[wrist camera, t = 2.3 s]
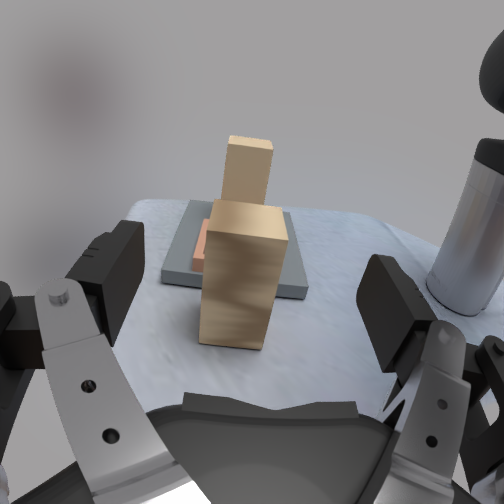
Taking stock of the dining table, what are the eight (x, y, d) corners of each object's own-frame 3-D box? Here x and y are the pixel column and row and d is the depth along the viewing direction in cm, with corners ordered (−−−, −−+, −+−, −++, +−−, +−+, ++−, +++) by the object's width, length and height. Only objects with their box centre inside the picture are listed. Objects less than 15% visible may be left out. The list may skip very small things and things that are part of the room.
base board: (287, 222, 45) (303, 144, 39) (304, 298, 31) (336, 189, 25) (189, 209, 44) (196, 129, 38) (161, 282, 30) (163, 165, 24)
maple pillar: (260, 308, 29) (281, 207, 24) (261, 349, 25) (288, 240, 19) (205, 302, 28) (214, 198, 23) (198, 342, 24) (206, 230, 19)
